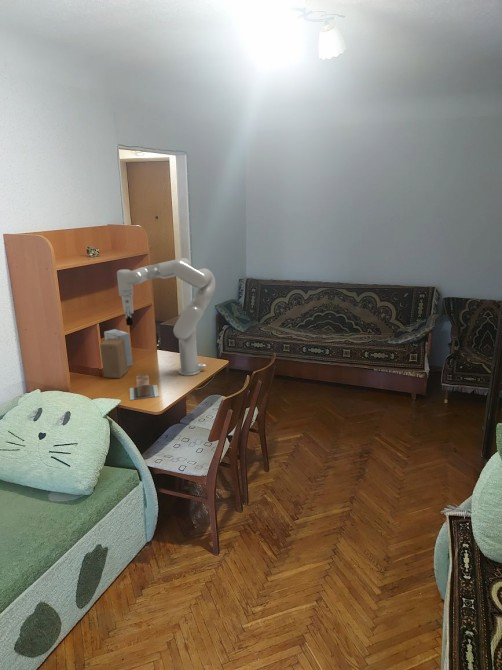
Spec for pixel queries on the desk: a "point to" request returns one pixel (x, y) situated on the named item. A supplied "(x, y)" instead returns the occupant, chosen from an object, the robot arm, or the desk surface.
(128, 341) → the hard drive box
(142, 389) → the walnut block
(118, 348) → the wooden block
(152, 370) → the desk surface
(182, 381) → the desk surface
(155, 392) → the mat
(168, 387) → the desk surface
